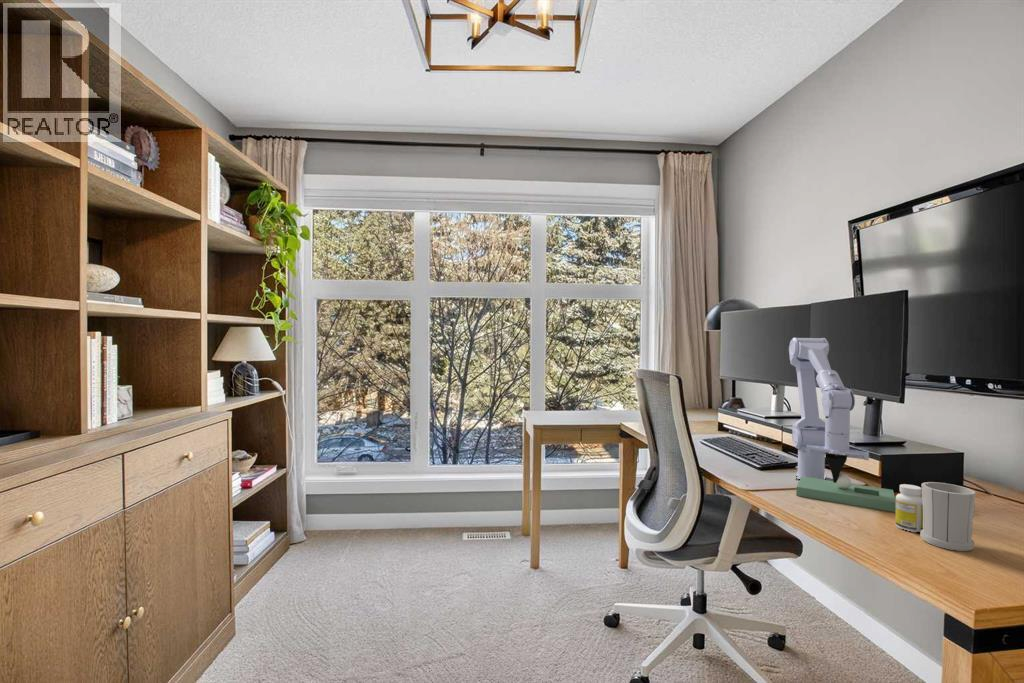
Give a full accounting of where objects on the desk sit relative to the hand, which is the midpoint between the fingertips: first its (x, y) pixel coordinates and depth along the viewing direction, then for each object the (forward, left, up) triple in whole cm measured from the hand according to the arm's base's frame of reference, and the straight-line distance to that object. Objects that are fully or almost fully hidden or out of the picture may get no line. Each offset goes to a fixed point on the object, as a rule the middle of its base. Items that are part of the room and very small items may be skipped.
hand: (836, 482), depth 140 cm
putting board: (-1, +2, -4) cm, 4 cm away
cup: (+23, +21, -4) cm, 31 cm away
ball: (0, +1, 0) cm, 2 cm away
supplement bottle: (+18, +15, -4) cm, 24 cm away
